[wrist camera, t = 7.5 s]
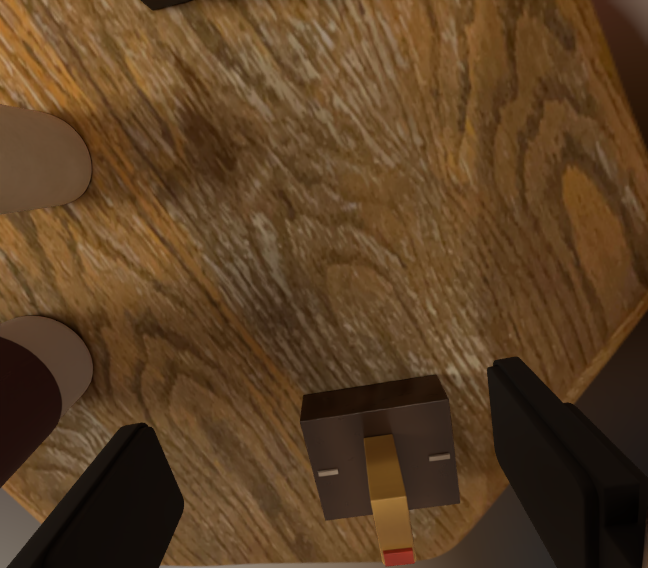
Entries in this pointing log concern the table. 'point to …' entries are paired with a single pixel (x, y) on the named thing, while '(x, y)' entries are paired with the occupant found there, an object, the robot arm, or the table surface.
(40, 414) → the coffee cup
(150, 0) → the dark grey button housing
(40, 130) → the candle
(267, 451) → the table surface
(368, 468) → the thumbturn
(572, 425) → the robot arm
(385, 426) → the plate
